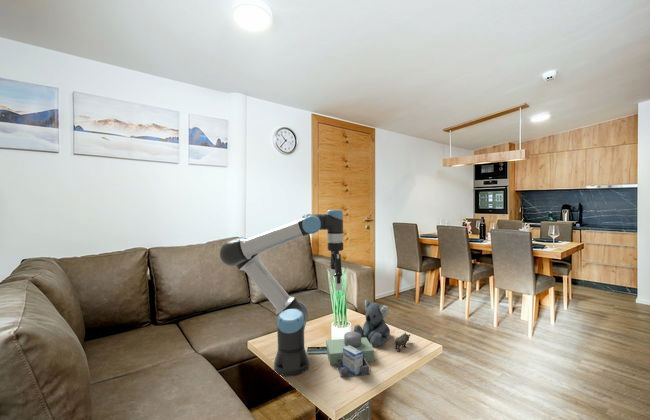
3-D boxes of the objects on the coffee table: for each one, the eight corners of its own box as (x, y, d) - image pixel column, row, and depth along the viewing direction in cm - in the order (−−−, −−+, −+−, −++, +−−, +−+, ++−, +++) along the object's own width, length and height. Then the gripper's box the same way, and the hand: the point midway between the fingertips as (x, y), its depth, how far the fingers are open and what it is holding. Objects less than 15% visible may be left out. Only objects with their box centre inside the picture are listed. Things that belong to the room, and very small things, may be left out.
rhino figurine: (413, 342, 150) (413, 331, 150) (400, 353, 140) (400, 340, 140) (406, 340, 153) (406, 328, 153) (392, 350, 143) (392, 338, 143)
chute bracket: (340, 377, 121) (340, 369, 121) (336, 365, 130) (336, 357, 130) (369, 374, 123) (369, 366, 123) (364, 363, 132) (363, 355, 131)
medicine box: (342, 367, 128) (342, 347, 128) (349, 363, 131) (349, 344, 131) (355, 375, 122) (355, 354, 122) (363, 371, 125) (362, 351, 125)
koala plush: (351, 337, 157) (350, 301, 156) (372, 327, 169) (371, 293, 168) (377, 349, 144) (377, 309, 144) (398, 337, 156) (398, 301, 156)
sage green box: (330, 365, 131) (329, 345, 130) (326, 350, 144) (326, 332, 144) (374, 361, 133) (373, 341, 133) (366, 347, 146) (366, 329, 146)
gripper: (348, 245, 130) (349, 293, 130) (338, 238, 154) (339, 279, 155) (331, 246, 129) (332, 294, 129) (324, 239, 153) (325, 279, 154)
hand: (336, 286), depth 142 cm, fingers open, 13 cm apart
